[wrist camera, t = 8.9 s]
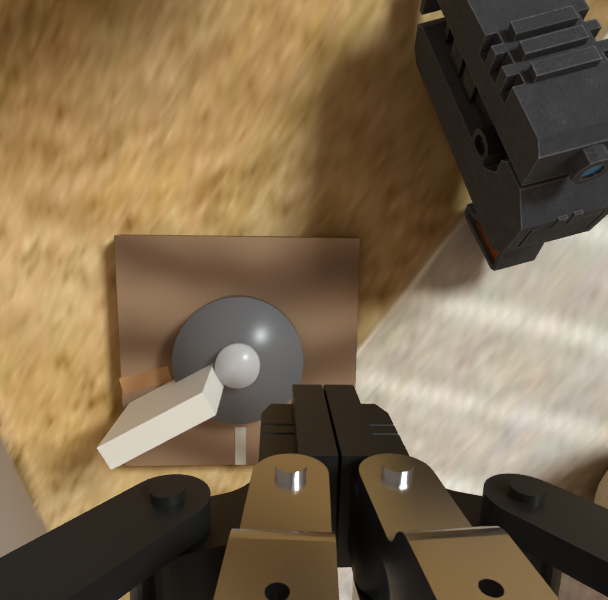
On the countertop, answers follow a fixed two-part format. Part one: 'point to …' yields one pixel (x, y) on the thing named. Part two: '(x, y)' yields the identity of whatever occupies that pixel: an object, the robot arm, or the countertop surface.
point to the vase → (602, 492)
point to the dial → (214, 376)
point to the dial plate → (220, 283)
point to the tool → (521, 117)
